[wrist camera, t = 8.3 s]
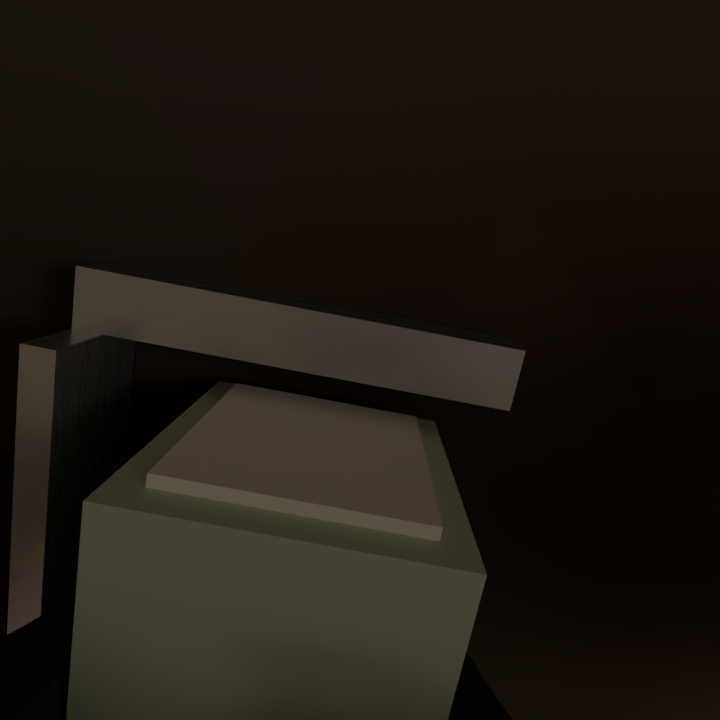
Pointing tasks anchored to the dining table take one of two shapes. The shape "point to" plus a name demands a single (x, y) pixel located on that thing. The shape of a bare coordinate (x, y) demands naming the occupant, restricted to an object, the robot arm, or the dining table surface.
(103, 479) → the grey l-shaped piece
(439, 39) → the dining table surface
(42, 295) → the dining table surface
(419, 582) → the cabinet block
